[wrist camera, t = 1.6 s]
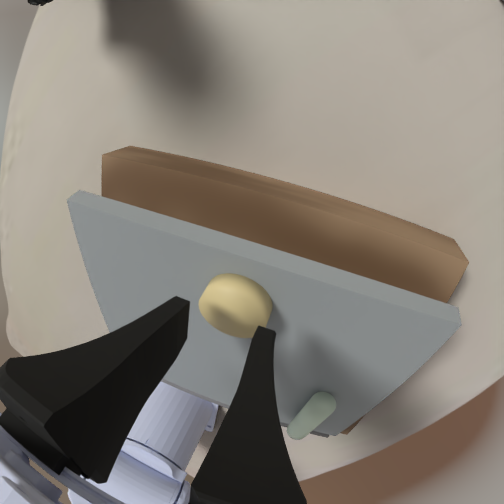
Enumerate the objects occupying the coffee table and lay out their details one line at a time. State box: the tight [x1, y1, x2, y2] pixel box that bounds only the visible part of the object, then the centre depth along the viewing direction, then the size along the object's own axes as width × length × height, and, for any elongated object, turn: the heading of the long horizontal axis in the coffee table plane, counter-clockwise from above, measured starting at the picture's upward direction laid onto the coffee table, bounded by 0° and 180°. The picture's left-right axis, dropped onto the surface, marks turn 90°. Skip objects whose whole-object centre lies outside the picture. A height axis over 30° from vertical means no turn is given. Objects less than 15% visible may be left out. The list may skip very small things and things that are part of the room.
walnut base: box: [102, 146, 469, 434], centre depth 21 cm, size 18×22×3 cm
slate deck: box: [67, 190, 461, 440], centre depth 17 cm, size 17×19×3 cm
